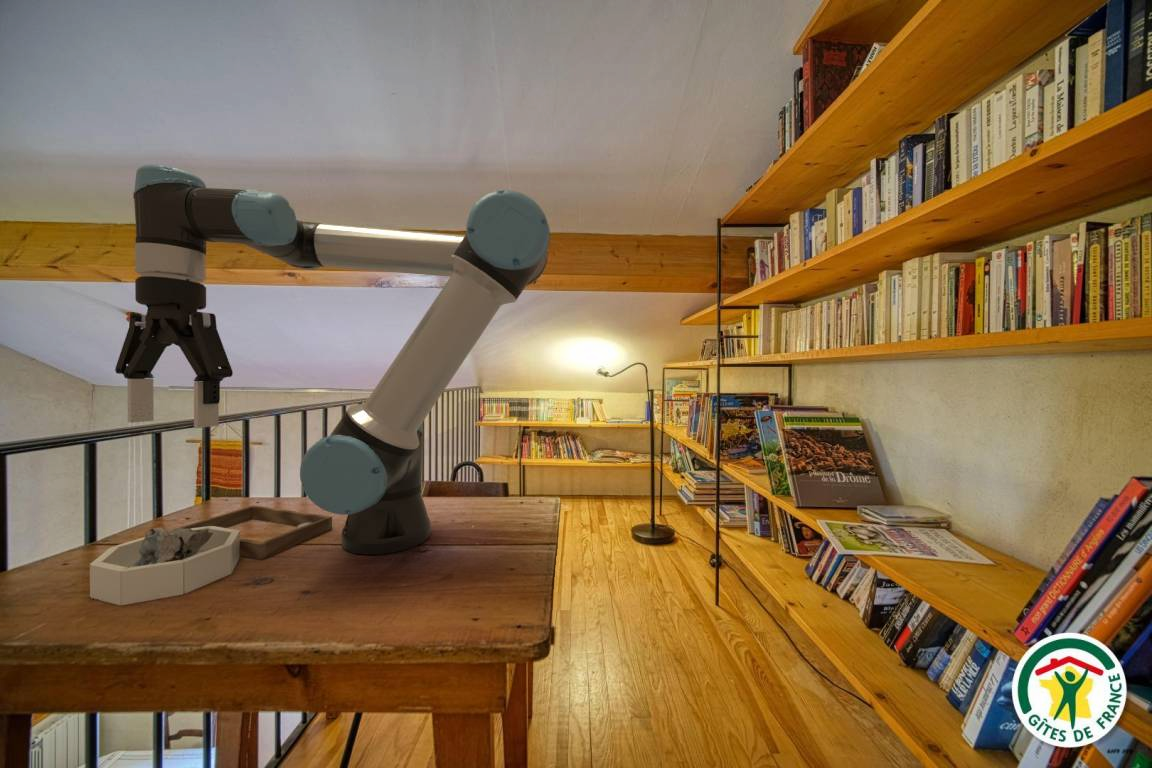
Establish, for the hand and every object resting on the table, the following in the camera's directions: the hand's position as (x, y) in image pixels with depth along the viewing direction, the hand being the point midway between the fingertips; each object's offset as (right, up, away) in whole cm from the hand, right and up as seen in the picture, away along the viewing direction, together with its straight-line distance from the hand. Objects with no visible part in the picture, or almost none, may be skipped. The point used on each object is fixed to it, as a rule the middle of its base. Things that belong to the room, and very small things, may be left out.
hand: (172, 424), depth 63 cm
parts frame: (0, -22, +16) cm, 27 cm away
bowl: (-1, -23, +1) cm, 23 cm away
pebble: (+8, -23, +18) cm, 30 cm away
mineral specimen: (0, -22, 0) cm, 22 cm away
